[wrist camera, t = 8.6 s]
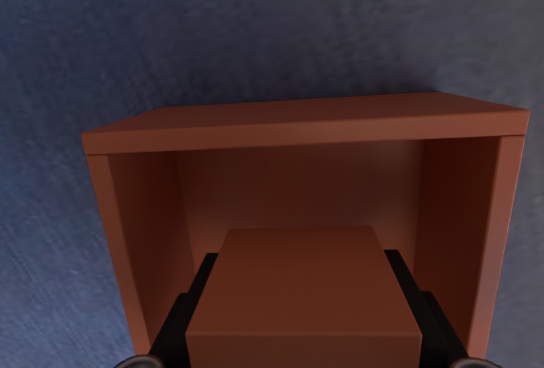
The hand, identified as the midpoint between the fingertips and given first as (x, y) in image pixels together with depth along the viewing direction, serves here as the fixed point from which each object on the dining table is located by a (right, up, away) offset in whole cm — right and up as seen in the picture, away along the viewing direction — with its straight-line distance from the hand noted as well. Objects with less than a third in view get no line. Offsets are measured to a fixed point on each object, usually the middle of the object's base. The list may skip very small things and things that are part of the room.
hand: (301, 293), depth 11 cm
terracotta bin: (0, +2, +5) cm, 5 cm away
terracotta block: (0, 0, 0) cm, 0 cm away
